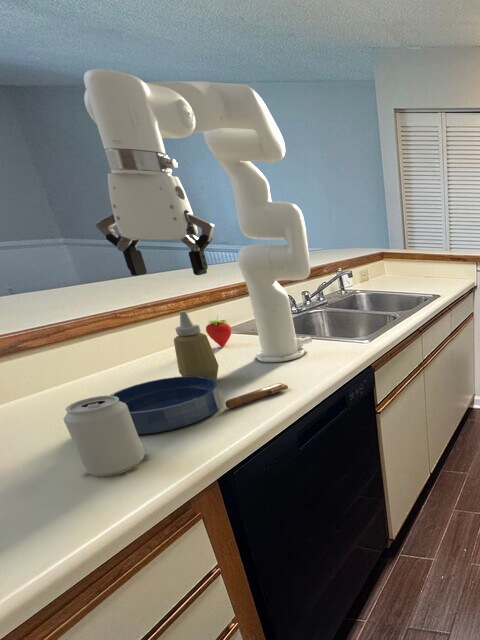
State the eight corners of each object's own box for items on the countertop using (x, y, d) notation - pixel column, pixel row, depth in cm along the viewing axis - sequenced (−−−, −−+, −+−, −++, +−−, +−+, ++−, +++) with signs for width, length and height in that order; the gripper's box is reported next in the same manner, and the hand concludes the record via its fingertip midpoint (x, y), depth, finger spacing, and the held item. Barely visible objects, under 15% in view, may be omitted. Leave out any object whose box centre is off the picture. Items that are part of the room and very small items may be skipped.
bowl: (195, 389, 101) (189, 370, 100) (241, 407, 93) (235, 387, 91) (91, 421, 86) (82, 398, 84) (135, 446, 77) (125, 422, 75)
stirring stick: (280, 387, 103) (279, 380, 103) (288, 390, 102) (287, 383, 101) (223, 408, 92) (220, 399, 92) (231, 411, 91) (228, 403, 90)
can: (143, 449, 76) (121, 389, 72) (149, 466, 71) (125, 402, 67) (86, 465, 71) (59, 401, 67) (88, 485, 66) (58, 417, 62)
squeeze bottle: (185, 391, 100) (162, 317, 94) (181, 381, 106) (159, 310, 99) (224, 383, 105) (206, 312, 99) (219, 374, 111) (201, 306, 104)
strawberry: (221, 342, 137) (213, 312, 133) (240, 344, 135) (233, 314, 131) (205, 347, 132) (196, 316, 128) (224, 350, 130) (216, 318, 126)
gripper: (210, 169, 73) (233, 271, 79) (95, 166, 70) (129, 272, 76) (187, 165, 66) (214, 277, 72) (58, 161, 63) (99, 277, 69)
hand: (170, 274), depth 74 cm, fingers open, 9 cm apart
